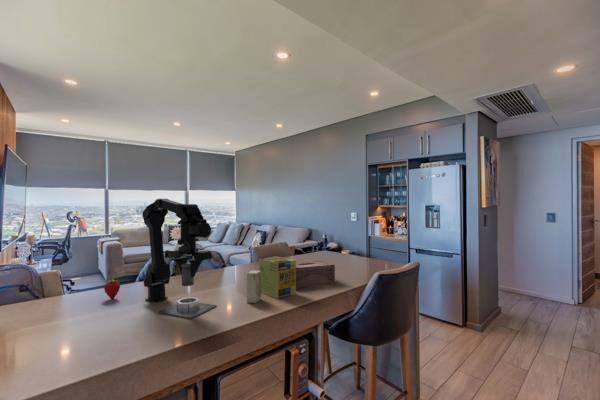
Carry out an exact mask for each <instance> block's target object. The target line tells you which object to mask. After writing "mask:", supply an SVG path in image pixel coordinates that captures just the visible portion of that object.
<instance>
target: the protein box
mask: <svg viewBox="0 0 600 400" xmlns="http://www.w3.org/2000/svg"><path fill="white" fill-rule="evenodd" d="M296 262H297V260H296V259H291V258H287V257H281V256H271V257H270V256H269V257H261V258H259V259H258V271H261V294H262V293H263V294H265V295H268V296H270V297H273V298H275V299H278V300H279V299H283V298H286V297H290V296H295V295H297V288H296Z"/></svg>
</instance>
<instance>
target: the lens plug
mask: <svg viewBox="0 0 600 400" xmlns="http://www.w3.org/2000/svg"><path fill="white" fill-rule="evenodd" d="M181 267H182V275H181V286H183V287H190V286H194V285H195V276H194V277H192V276H191V263H190V262H187V263H182V264H181Z"/></svg>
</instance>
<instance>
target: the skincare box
mask: <svg viewBox="0 0 600 400" xmlns="http://www.w3.org/2000/svg"><path fill="white" fill-rule="evenodd" d="M261 299H262V292H261V271H259V270H255V269H254V270H250V271H249V272H247V273H246V303H250V304H251V303H252V304H253V303H254V304H256V303H259V301H261Z"/></svg>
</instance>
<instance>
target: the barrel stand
mask: <svg viewBox="0 0 600 400" xmlns="http://www.w3.org/2000/svg"><path fill="white" fill-rule="evenodd" d="M217 307H218V305H217V304H210V303H203V302H200V299H199V298H198V297H194V296H192V297H191V296H190V297H183V298H180V299H177V301H176V303H175V304H173V305H171V306H168V307H166V308H163V309H161V310H158V311H157V314H161V315H165V316H172V317H177V318H181V319H182V318H183V319H188V320H193V319H194V318H197V317H199V316H200V315H203V314H205V313H207V312H209V311H211V310H213V309H214V308H217Z"/></svg>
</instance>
